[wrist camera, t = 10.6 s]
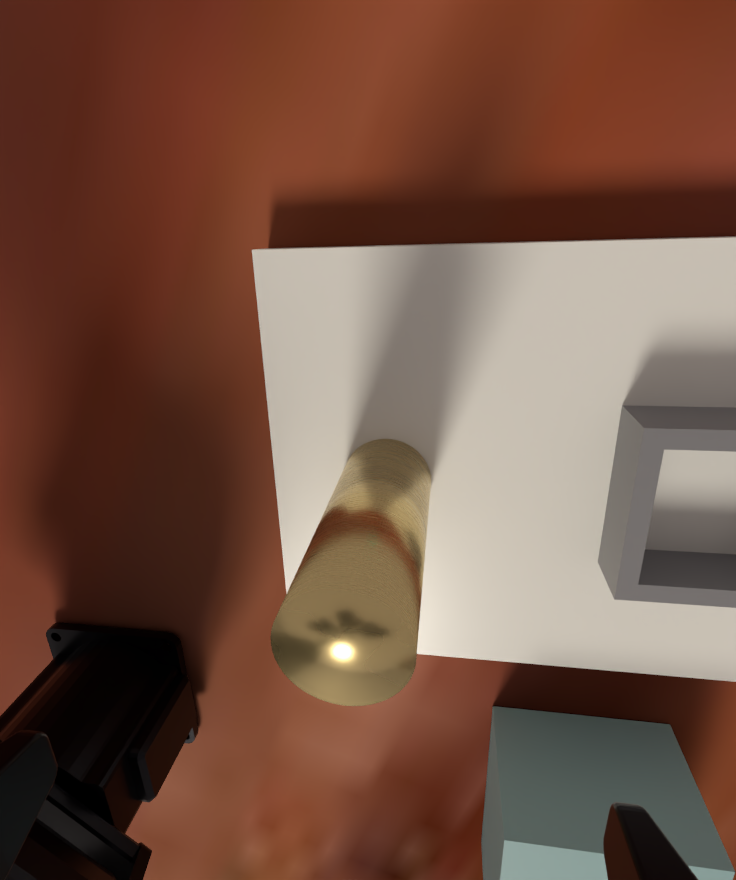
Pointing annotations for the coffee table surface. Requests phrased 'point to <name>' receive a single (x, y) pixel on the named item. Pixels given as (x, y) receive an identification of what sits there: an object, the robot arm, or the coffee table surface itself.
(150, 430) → the coffee table surface
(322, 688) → the pin
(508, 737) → the block
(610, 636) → the board
